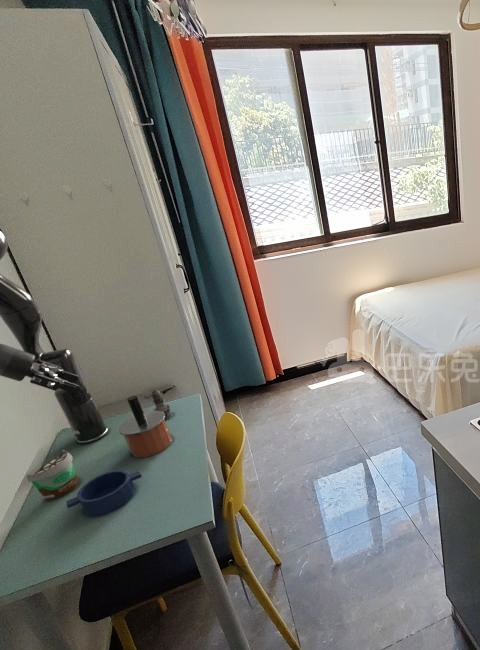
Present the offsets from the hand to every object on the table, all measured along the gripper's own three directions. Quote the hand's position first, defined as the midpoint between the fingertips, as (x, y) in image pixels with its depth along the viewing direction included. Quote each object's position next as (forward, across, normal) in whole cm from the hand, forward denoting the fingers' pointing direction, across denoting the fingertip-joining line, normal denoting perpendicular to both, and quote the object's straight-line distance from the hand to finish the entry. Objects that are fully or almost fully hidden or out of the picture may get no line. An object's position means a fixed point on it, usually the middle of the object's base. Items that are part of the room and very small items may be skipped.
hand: (77, 384), depth 124 cm
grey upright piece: (+34, +26, +9) cm, 44 cm away
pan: (+19, -13, +24) cm, 33 cm away
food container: (+12, +2, +31) cm, 34 cm away
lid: (+23, +8, +8) cm, 25 cm away
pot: (+29, +8, +14) cm, 33 cm away
